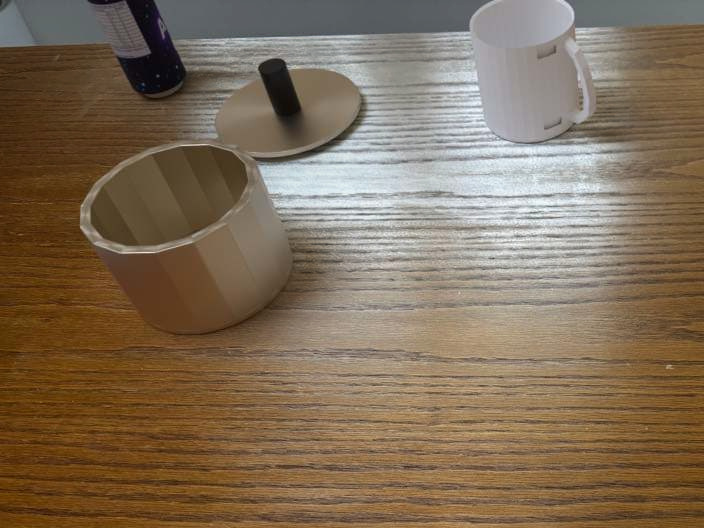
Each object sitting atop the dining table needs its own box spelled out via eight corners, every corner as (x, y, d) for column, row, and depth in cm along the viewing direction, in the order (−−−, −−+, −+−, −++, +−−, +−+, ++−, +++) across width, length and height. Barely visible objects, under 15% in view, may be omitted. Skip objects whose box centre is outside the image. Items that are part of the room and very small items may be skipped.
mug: (465, 116, 80) (448, 21, 73) (539, 77, 83) (530, -18, 76) (544, 171, 74) (534, 74, 67) (621, 127, 77) (619, 29, 70)
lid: (189, 145, 81) (163, 93, 77) (277, 68, 89) (259, 16, 84) (306, 176, 77) (286, 123, 72) (389, 92, 84) (376, 38, 80)
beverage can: (196, 88, 88) (143, -28, 78) (143, 108, 86) (82, -9, 77) (181, 65, 91) (129, -50, 81) (130, 84, 89) (70, -31, 80)
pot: (99, 308, 68) (41, 226, 62) (205, 208, 75) (163, 125, 68) (224, 354, 64) (176, 272, 57) (324, 243, 71) (292, 159, 64)
